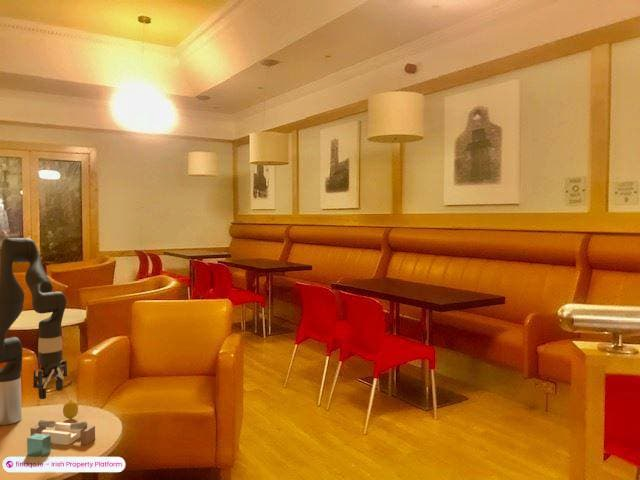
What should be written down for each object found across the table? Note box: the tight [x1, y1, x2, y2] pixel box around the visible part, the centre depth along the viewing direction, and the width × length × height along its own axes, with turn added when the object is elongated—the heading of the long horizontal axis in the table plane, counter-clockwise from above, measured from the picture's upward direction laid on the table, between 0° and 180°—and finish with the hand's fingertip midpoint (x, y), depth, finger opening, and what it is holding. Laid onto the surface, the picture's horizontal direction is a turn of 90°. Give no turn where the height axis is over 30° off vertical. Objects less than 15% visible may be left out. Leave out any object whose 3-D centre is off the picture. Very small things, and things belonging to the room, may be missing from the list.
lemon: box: [62, 399, 79, 420], centre depth 211 cm, size 6×6×8 cm
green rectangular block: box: [26, 433, 52, 458], centre depth 182 cm, size 6×4×6 cm, turn 78°
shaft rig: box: [29, 419, 96, 446], centre depth 194 cm, size 23×9×7 cm, turn 78°
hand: (51, 394), depth 184 cm, fingers open, 8 cm apart
